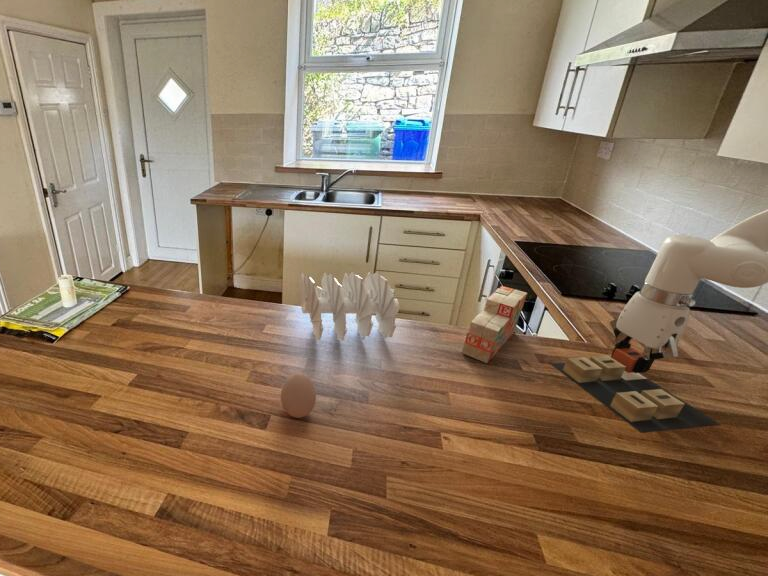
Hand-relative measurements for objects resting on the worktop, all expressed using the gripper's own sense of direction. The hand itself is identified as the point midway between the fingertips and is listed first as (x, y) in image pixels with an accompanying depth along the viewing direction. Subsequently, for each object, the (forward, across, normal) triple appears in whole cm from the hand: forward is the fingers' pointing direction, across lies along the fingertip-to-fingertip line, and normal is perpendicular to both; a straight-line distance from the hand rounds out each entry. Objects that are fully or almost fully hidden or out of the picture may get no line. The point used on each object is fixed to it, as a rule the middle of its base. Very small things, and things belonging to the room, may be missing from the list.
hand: (628, 364), depth 92 cm
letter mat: (+3, -6, +6) cm, 9 cm away
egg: (+3, -4, +79) cm, 79 cm away
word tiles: (+2, -6, +9) cm, 11 cm away
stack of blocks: (+3, +16, +23) cm, 28 cm away
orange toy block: (+1, 0, 0) cm, 1 cm away
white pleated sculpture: (+3, +24, +59) cm, 64 cm away
